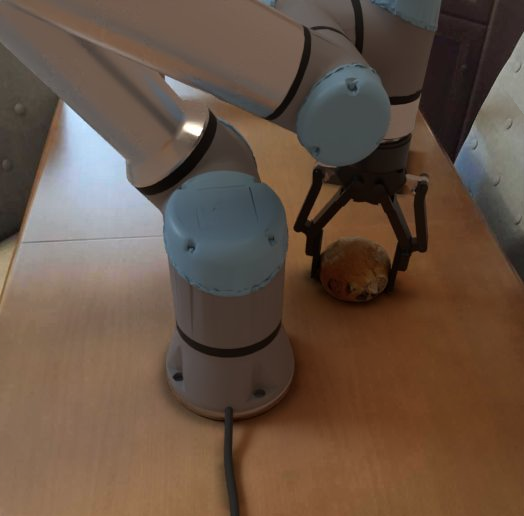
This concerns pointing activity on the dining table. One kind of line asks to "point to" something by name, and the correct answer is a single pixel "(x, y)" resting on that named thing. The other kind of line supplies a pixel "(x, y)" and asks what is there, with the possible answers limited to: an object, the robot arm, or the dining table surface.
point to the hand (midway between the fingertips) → (352, 279)
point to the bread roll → (354, 268)
